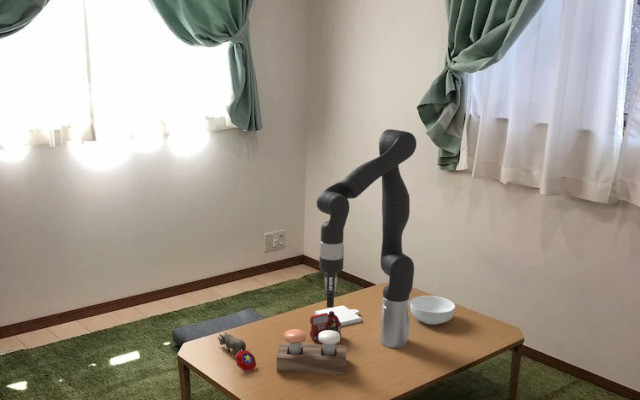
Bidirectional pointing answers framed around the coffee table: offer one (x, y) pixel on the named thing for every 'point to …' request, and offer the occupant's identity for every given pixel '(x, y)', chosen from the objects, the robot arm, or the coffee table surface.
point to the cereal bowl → (432, 309)
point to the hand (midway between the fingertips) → (330, 306)
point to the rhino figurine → (232, 343)
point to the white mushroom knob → (329, 341)
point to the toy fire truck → (324, 324)
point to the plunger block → (311, 360)
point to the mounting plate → (343, 314)
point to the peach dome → (295, 340)
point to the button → (245, 360)
